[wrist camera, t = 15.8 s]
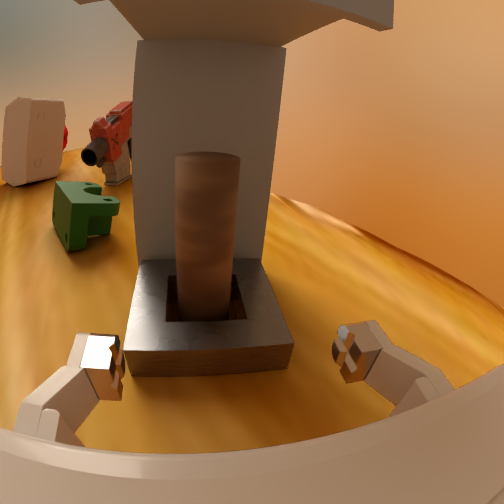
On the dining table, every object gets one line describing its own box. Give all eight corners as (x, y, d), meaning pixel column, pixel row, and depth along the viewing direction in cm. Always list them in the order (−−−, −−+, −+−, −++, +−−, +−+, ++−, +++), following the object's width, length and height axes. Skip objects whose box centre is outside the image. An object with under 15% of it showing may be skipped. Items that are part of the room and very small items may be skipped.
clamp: (109, 271, 33) (128, 214, 29) (64, 275, 29) (74, 214, 24) (87, 208, 38) (103, 155, 34) (50, 208, 34) (62, 152, 29)
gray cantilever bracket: (119, 415, 14) (73, -56, 3) (142, 266, 27) (143, 31, 17) (308, 403, 16) (404, -19, 6) (255, 264, 29) (280, 38, 19)
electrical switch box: (77, 179, 59) (84, 95, 52) (26, 189, 46) (32, 92, 39) (46, 175, 63) (52, 101, 56) (1, 184, 49) (6, 101, 42)
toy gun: (93, 206, 47) (72, 132, 36) (136, 151, 61) (128, 90, 50) (111, 208, 47) (92, 131, 36) (151, 151, 61) (145, 89, 50)
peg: (180, 341, 19) (173, 164, 14) (179, 308, 23) (177, 151, 17) (231, 339, 20) (245, 165, 14) (225, 307, 23) (235, 152, 18)
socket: (131, 376, 16) (123, 350, 15) (144, 284, 25) (141, 259, 23) (287, 368, 18) (294, 342, 17) (256, 282, 27) (259, 258, 26)
